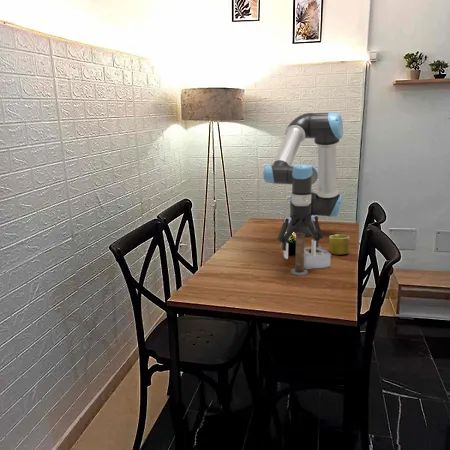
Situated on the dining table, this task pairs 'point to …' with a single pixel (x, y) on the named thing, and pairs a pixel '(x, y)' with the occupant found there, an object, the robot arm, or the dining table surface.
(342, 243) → the mug
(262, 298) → the dining table surface
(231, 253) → the dining table surface
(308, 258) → the grey square block
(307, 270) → the coaster
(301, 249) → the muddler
